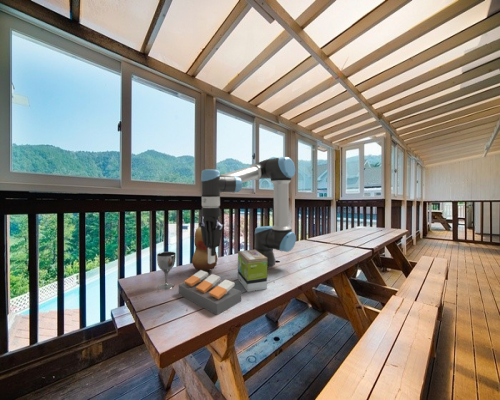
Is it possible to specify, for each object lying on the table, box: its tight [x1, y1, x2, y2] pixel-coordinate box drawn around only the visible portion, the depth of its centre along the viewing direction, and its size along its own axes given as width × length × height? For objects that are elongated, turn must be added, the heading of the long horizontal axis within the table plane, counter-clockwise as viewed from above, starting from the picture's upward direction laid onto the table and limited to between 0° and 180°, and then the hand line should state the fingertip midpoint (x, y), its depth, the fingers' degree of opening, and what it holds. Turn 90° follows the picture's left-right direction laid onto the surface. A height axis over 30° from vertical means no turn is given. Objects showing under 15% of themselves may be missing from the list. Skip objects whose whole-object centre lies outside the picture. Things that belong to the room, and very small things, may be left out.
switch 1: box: [183, 270, 209, 286], centre depth 90 cm, size 9×5×2 cm, turn 141°
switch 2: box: [209, 279, 236, 299], centre depth 80 cm, size 9×5×2 cm, turn 141°
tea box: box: [237, 249, 268, 293], centre depth 100 cm, size 15×10×15 cm, turn 21°
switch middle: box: [196, 273, 222, 293], centre depth 85 cm, size 9×5×2 cm, turn 141°
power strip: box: [178, 276, 242, 316], centre depth 89 cm, size 22×24×4 cm
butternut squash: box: [191, 226, 218, 272], centre depth 115 cm, size 14×13×25 cm
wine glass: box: [156, 251, 176, 291], centre depth 95 cm, size 8×8×15 cm
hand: (211, 262), depth 87 cm, fingers closed
